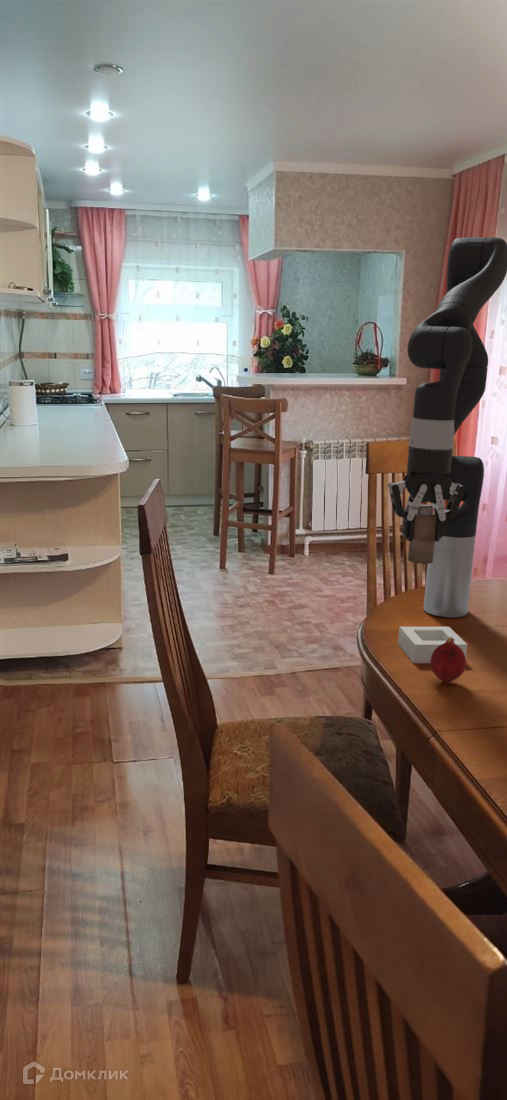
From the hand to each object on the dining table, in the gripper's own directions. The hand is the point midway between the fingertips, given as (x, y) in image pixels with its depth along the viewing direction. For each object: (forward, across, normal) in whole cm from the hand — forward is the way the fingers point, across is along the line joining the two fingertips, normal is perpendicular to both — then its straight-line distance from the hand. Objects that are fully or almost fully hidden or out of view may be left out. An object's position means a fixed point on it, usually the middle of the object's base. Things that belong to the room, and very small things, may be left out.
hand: (422, 539), depth 151 cm
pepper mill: (+4, 0, 0) cm, 4 cm away
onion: (+21, +1, -16) cm, 26 cm away
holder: (+21, +3, -2) cm, 21 cm away
